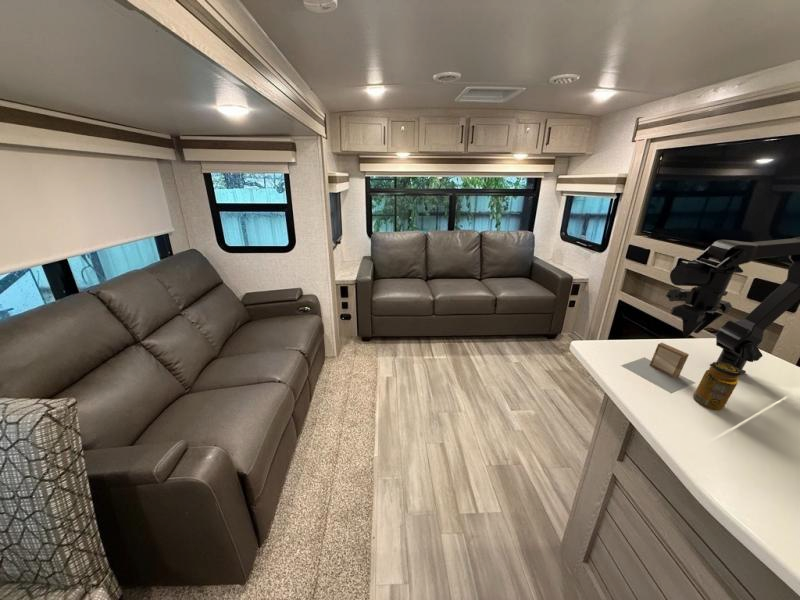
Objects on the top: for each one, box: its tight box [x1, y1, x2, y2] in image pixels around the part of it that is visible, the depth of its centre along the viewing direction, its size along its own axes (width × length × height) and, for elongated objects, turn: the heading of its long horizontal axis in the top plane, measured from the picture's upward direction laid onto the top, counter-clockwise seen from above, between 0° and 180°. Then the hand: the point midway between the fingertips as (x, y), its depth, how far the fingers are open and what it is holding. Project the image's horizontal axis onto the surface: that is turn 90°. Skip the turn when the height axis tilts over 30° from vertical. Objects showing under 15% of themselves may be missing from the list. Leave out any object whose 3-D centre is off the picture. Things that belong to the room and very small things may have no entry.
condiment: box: [692, 361, 741, 411], centre depth 80 cm, size 7×8×12 cm
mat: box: [620, 357, 696, 394], centre depth 93 cm, size 12×14×1 cm
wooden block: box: [649, 342, 689, 378], centre depth 93 cm, size 2×7×8 cm, turn 24°
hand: (690, 334), depth 92 cm, fingers open, 5 cm apart
